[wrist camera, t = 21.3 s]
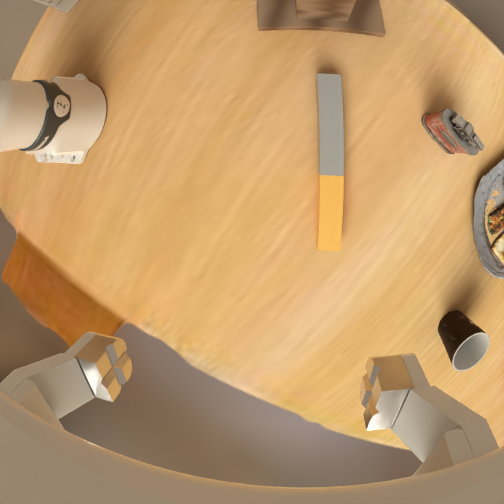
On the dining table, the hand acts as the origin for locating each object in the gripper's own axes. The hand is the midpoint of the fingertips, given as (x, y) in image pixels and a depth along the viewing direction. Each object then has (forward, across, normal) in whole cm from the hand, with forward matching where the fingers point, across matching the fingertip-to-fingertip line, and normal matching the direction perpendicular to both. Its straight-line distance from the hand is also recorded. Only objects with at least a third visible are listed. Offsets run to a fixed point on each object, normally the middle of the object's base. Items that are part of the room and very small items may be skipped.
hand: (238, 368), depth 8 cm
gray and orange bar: (+37, -7, -6) cm, 38 cm away
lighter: (+37, -26, -12) cm, 47 cm away
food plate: (+38, -46, 0) cm, 59 cm away
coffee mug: (+37, -34, +22) cm, 55 cm away
